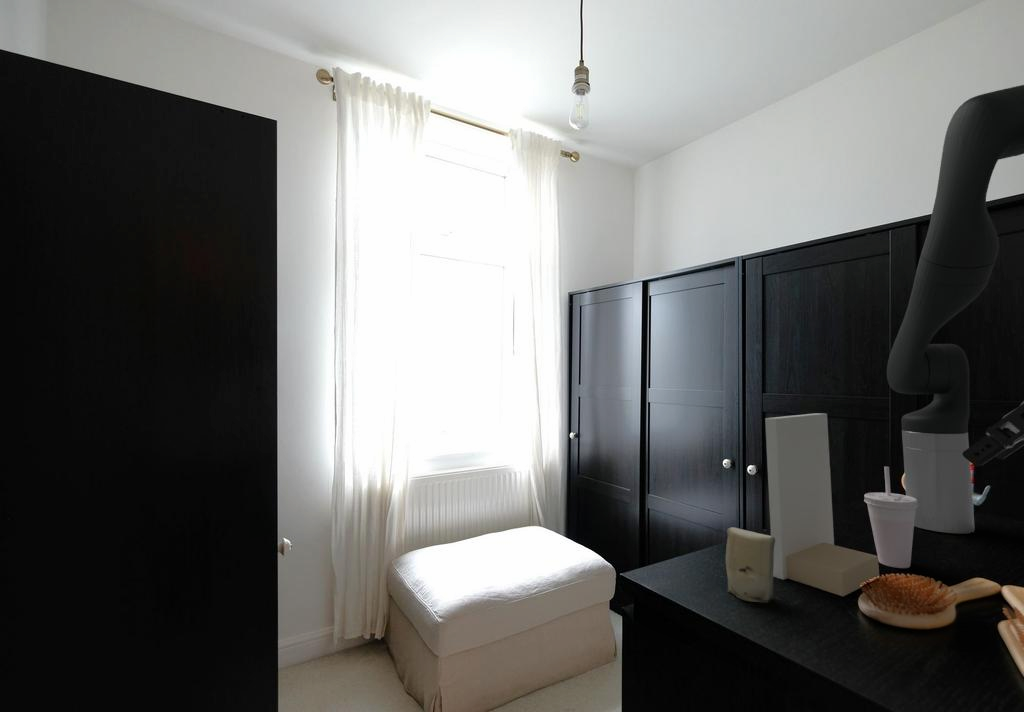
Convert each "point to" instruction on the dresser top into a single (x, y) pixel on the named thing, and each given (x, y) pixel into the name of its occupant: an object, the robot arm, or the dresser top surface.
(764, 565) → the cream rounded block
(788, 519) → the wall board
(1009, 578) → the dresser top surface
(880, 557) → the smoothie
